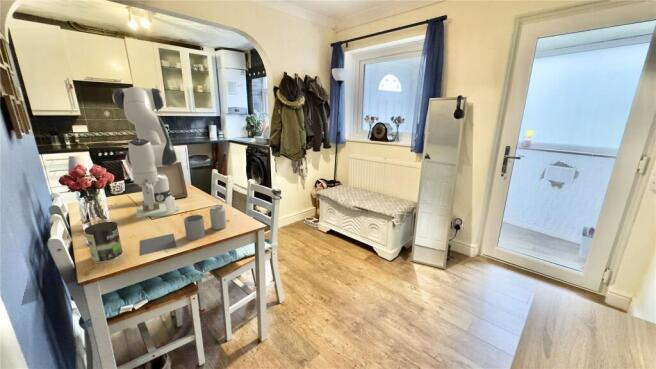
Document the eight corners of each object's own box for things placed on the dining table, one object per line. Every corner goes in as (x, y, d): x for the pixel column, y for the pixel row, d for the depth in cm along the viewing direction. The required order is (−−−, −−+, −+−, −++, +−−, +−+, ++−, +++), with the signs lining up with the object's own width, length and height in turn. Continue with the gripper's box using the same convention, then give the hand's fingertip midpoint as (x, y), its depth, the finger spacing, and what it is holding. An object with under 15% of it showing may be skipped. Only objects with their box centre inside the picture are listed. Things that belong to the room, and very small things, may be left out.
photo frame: (188, 197, 187) (183, 163, 180) (152, 204, 172) (145, 167, 166) (182, 192, 197) (177, 160, 190) (148, 198, 183) (141, 163, 176)
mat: (139, 241, 124) (139, 240, 124) (173, 234, 132) (173, 233, 132) (139, 256, 112) (139, 255, 112) (176, 247, 119) (176, 246, 119)
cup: (197, 241, 125) (195, 222, 122) (182, 239, 127) (179, 220, 124) (208, 233, 133) (206, 215, 130) (194, 232, 135) (192, 214, 132)
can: (217, 231, 135) (215, 210, 132) (208, 228, 139) (206, 207, 136) (229, 226, 142) (227, 205, 138) (220, 223, 145) (218, 203, 142)
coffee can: (129, 250, 117) (122, 221, 113) (112, 263, 107) (105, 231, 103) (104, 250, 116) (97, 221, 112) (85, 263, 106) (77, 232, 102)
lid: (137, 209, 119) (135, 202, 118) (165, 204, 125) (164, 198, 124) (136, 217, 110) (135, 210, 109) (167, 212, 116) (165, 205, 115)
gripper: (155, 182, 107) (160, 213, 110) (153, 172, 123) (158, 199, 127) (136, 184, 103) (142, 216, 107) (137, 173, 119) (142, 202, 123)
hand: (151, 207), depth 117 cm, fingers closed on lid, 3 cm apart
